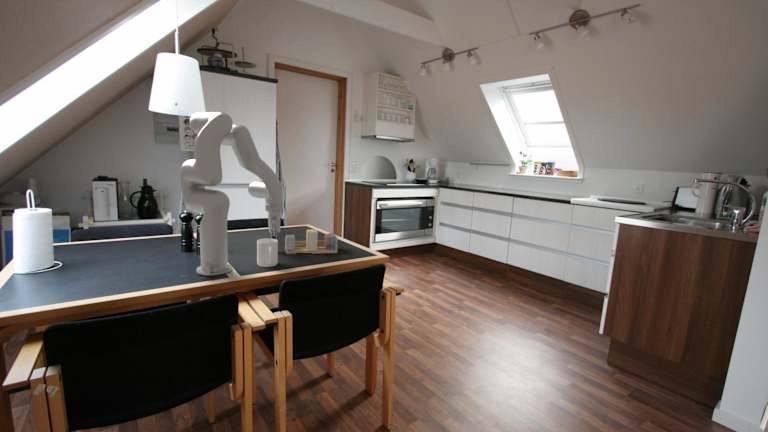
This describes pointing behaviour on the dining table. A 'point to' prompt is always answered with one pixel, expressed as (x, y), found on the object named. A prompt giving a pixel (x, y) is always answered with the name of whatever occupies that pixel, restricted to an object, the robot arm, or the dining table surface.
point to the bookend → (290, 242)
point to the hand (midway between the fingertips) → (273, 246)
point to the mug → (267, 252)
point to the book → (311, 239)
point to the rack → (322, 246)
